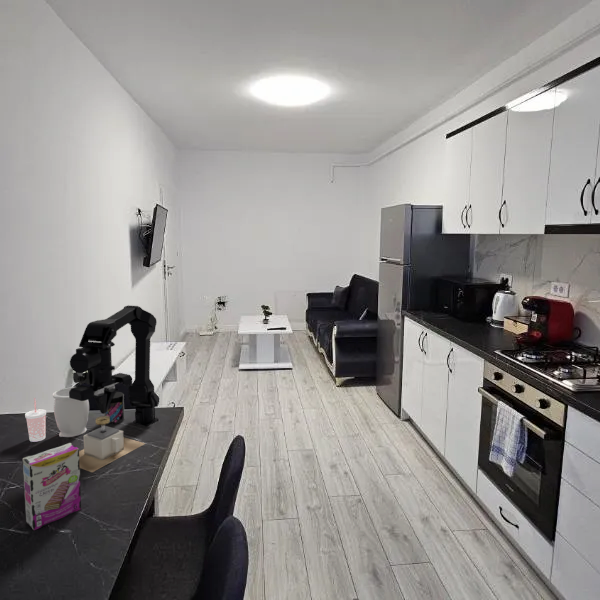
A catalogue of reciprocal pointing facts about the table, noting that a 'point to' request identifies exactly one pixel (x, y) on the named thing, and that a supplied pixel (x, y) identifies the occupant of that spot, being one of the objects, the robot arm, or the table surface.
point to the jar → (70, 413)
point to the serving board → (95, 464)
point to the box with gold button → (103, 442)
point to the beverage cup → (36, 424)
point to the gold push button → (103, 421)
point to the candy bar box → (51, 485)
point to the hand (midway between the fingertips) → (103, 413)
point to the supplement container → (116, 409)
